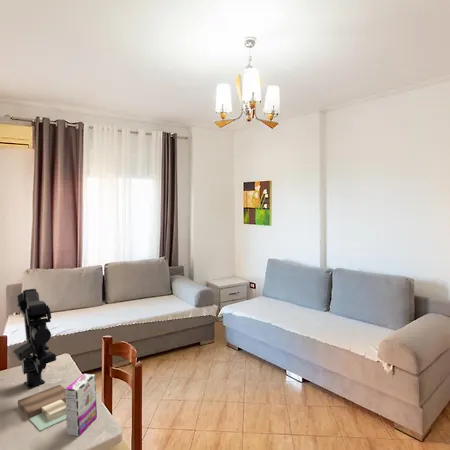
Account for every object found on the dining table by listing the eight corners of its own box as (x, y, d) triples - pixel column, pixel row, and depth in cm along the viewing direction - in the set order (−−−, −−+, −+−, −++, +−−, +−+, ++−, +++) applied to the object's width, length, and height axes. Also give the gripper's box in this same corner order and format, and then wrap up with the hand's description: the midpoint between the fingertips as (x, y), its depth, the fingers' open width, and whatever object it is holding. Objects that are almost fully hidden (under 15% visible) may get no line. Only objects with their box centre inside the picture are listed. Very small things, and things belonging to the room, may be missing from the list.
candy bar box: (85, 415, 130) (83, 372, 129) (97, 417, 129) (96, 374, 128) (65, 435, 119) (63, 388, 118) (78, 437, 118) (77, 390, 117)
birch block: (42, 413, 131) (41, 407, 131) (61, 405, 136) (60, 399, 136) (49, 421, 126) (49, 414, 126) (69, 412, 131) (69, 406, 131)
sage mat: (29, 419, 128) (29, 418, 128) (72, 400, 140) (72, 399, 140) (40, 431, 121) (40, 430, 121) (85, 410, 133) (84, 409, 133)
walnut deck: (17, 406, 136) (17, 400, 136) (59, 390, 148) (59, 384, 148) (29, 419, 128) (29, 412, 128) (72, 400, 140) (72, 394, 140)
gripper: (7, 334, 140) (9, 372, 141) (24, 348, 127) (26, 389, 129) (37, 327, 148) (38, 362, 149) (56, 339, 136) (57, 378, 137)
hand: (39, 372), depth 141 cm, fingers closed
